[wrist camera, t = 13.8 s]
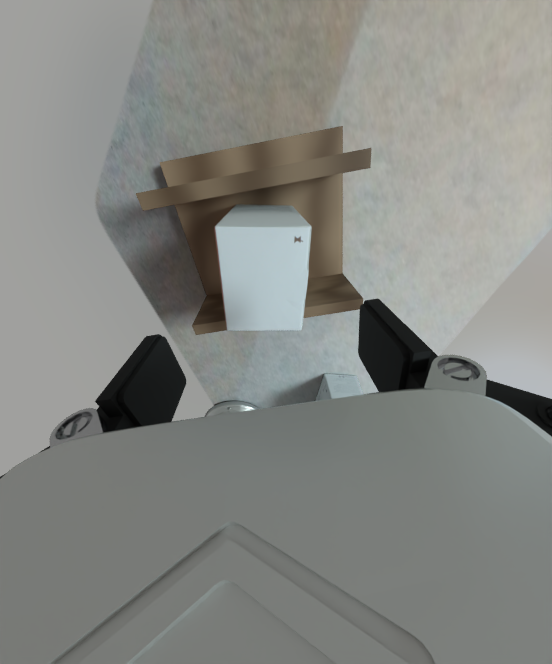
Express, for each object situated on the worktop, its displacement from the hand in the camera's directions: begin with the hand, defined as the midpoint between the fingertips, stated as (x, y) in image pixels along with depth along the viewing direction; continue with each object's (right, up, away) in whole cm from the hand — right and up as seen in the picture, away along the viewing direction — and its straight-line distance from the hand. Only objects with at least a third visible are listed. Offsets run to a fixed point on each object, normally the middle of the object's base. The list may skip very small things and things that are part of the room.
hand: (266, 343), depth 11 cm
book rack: (-1, +12, +17) cm, 21 cm away
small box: (-1, +11, +16) cm, 20 cm away
